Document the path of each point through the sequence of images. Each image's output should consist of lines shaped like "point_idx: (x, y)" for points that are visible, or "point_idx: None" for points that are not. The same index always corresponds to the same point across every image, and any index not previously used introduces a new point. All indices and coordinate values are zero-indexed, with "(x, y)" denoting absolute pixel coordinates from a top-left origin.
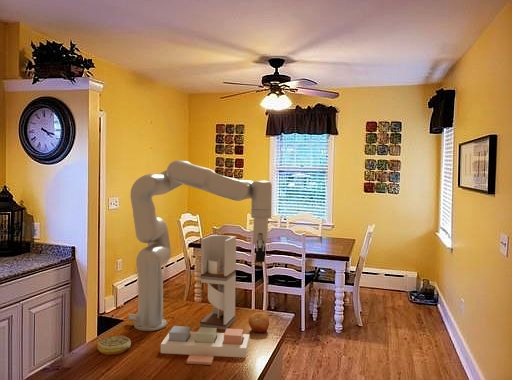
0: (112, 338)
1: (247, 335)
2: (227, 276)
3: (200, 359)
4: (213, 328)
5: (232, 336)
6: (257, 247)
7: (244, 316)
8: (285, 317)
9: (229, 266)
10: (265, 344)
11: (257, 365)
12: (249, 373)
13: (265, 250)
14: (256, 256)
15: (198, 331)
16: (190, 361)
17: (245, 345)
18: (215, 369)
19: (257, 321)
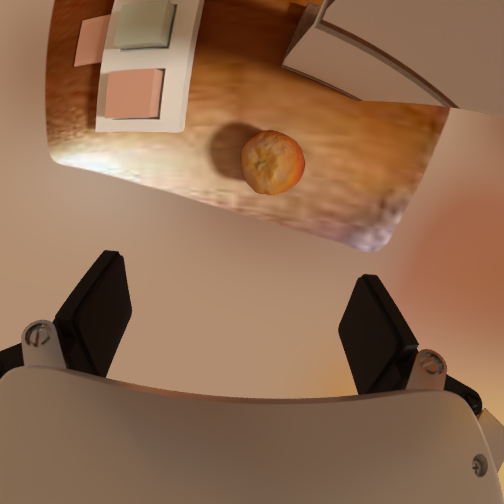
0: None
1: (170, 127)
2: (339, 29)
3: (86, 42)
4: (156, 34)
5: (107, 94)
6: (28, 362)
7: (382, 132)
8: (359, 239)
9: (397, 36)
10: (178, 171)
11: (79, 157)
12: (53, 146)
13: (354, 370)
14: (85, 281)
15: (136, 4)
16: (81, 27)
17: (109, 128)
18: (62, 81)
19: (246, 158)
